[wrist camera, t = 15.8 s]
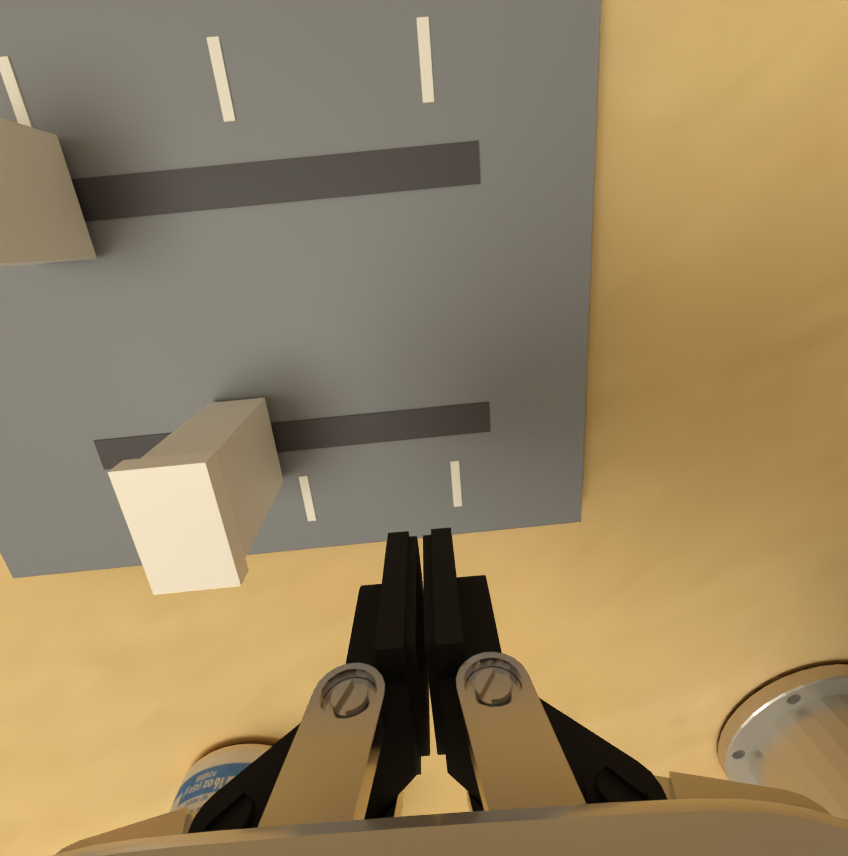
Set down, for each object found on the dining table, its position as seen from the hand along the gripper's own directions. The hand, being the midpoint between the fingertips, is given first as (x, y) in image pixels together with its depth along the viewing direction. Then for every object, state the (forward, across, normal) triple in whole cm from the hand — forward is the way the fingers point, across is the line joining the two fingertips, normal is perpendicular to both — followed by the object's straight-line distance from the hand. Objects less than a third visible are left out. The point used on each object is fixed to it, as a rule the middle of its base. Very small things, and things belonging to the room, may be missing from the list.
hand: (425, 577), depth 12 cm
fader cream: (+9, +8, -1) cm, 12 cm away
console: (+11, +7, -6) cm, 14 cm away
